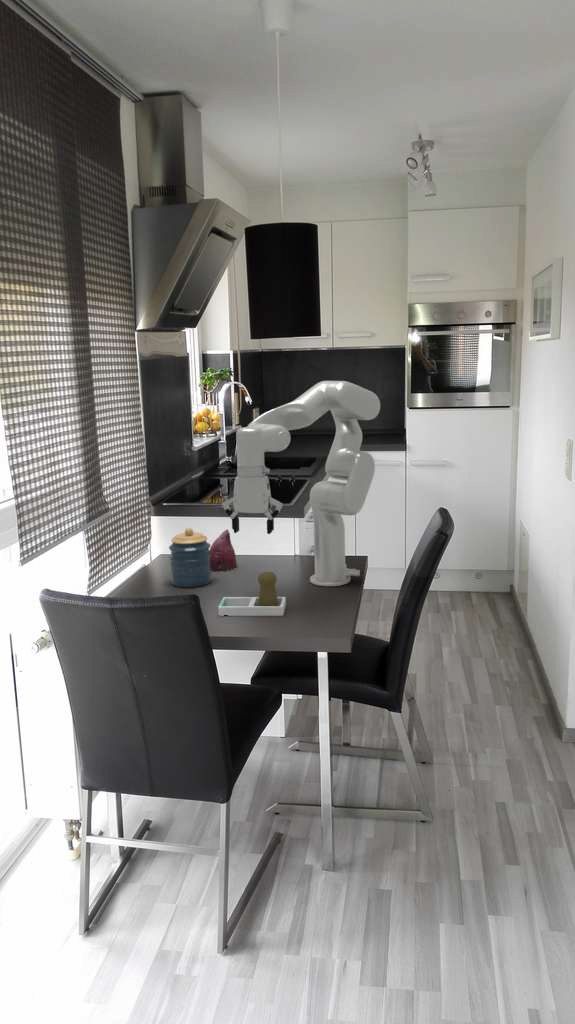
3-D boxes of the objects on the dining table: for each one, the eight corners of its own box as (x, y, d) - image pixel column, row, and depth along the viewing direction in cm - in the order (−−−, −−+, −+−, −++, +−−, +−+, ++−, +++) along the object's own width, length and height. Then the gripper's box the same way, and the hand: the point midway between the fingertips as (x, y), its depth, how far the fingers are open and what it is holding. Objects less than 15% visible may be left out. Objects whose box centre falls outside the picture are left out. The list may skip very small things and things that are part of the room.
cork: (276, 614, 229) (275, 576, 226) (255, 613, 230) (253, 575, 228) (281, 607, 234) (279, 570, 232) (260, 606, 236) (259, 569, 233)
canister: (192, 574, 271) (189, 521, 268) (220, 580, 263) (218, 526, 260) (162, 583, 262) (159, 529, 258) (191, 590, 253) (187, 534, 250)
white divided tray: (285, 605, 236) (285, 596, 236) (283, 615, 227) (282, 607, 227) (223, 605, 238) (223, 597, 237) (218, 615, 229) (218, 607, 228)
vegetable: (241, 574, 281) (251, 533, 277) (223, 578, 272) (234, 535, 268) (217, 563, 286) (227, 523, 282) (198, 567, 277) (209, 525, 273)
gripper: (284, 470, 230) (286, 530, 233) (225, 469, 234) (227, 528, 237) (278, 474, 223) (279, 536, 226) (217, 473, 227) (219, 534, 230)
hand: (253, 532), depth 232 cm, fingers open, 9 cm apart
